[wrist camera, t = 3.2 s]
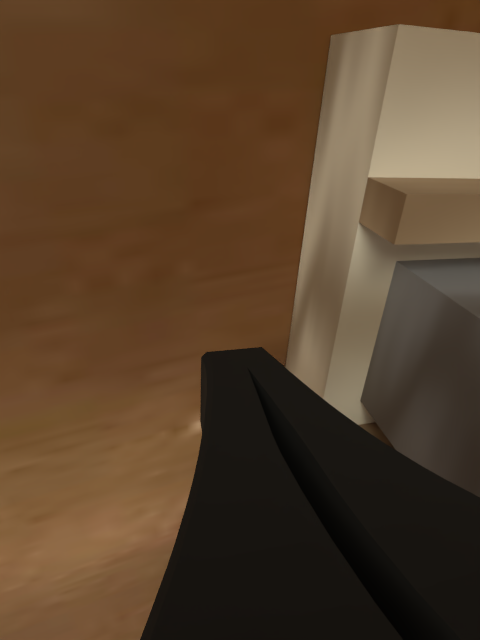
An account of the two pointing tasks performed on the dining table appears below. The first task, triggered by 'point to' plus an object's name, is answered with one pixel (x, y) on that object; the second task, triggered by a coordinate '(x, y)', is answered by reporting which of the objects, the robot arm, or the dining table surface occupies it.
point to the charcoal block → (430, 367)
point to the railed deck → (383, 193)
